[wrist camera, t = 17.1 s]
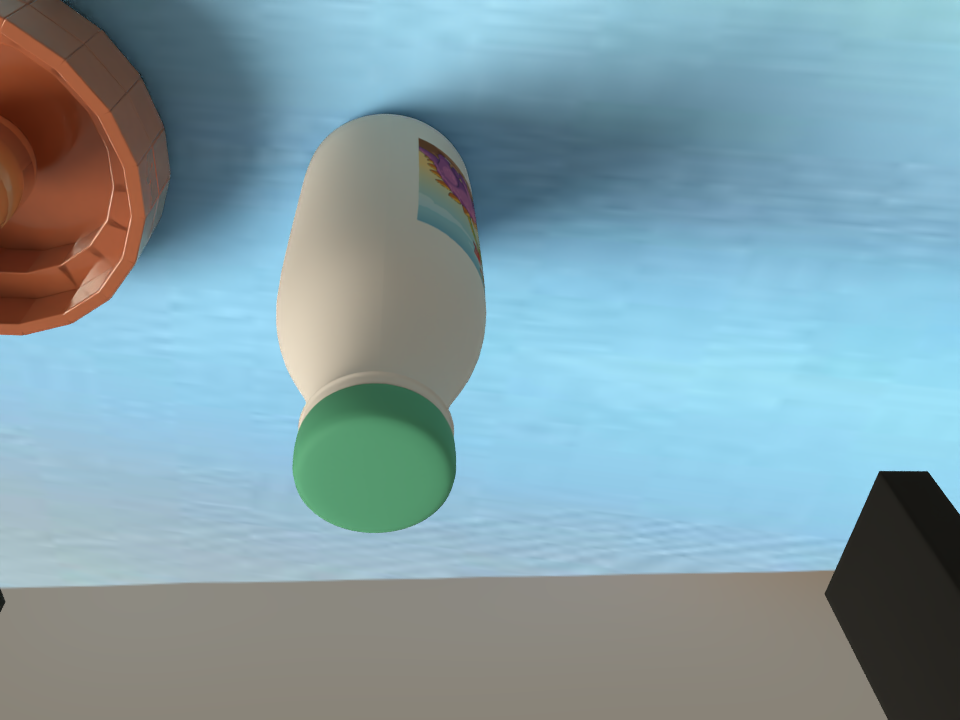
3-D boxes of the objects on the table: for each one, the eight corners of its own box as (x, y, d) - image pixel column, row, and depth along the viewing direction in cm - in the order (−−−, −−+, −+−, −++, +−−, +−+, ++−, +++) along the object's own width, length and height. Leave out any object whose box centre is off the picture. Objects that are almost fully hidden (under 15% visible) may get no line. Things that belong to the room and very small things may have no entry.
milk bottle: (307, 258, 42) (241, 574, 25) (303, 102, 37) (221, 362, 21) (463, 266, 43) (497, 577, 26) (478, 115, 38) (529, 373, 22)
